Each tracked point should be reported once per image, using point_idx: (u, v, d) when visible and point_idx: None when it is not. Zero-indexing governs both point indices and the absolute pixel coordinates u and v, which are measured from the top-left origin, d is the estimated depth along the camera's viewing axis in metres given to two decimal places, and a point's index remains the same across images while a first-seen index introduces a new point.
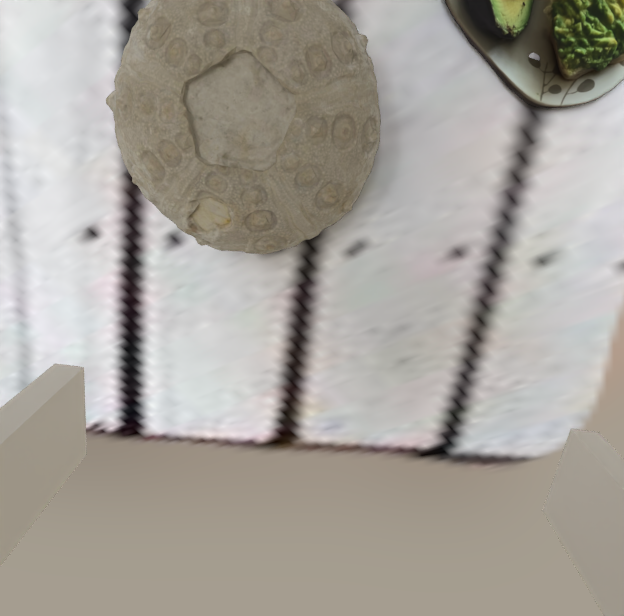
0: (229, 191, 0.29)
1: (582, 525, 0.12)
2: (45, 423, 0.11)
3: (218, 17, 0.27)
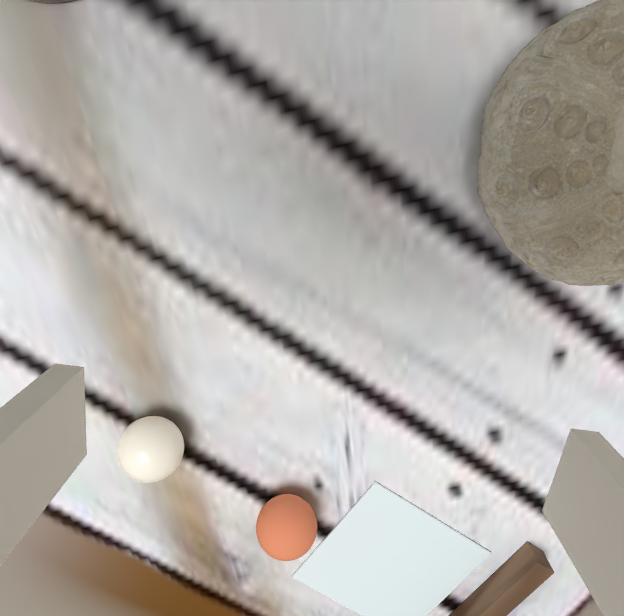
0: None
1: (582, 526, 0.12)
2: (45, 423, 0.11)
3: (577, 118, 0.27)
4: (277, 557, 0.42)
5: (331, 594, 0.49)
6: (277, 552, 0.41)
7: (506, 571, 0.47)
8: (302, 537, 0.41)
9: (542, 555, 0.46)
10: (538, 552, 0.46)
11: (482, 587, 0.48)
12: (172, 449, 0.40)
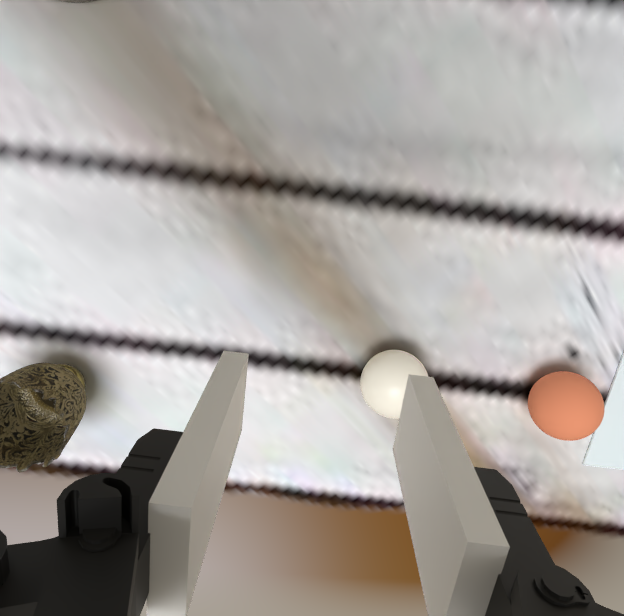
0: None
1: (406, 453, 0.14)
2: (236, 399, 0.13)
3: None
4: (576, 435, 0.37)
5: None
6: (575, 429, 0.37)
7: None
8: (594, 403, 0.37)
9: None
10: None
11: None
12: (419, 370, 0.37)
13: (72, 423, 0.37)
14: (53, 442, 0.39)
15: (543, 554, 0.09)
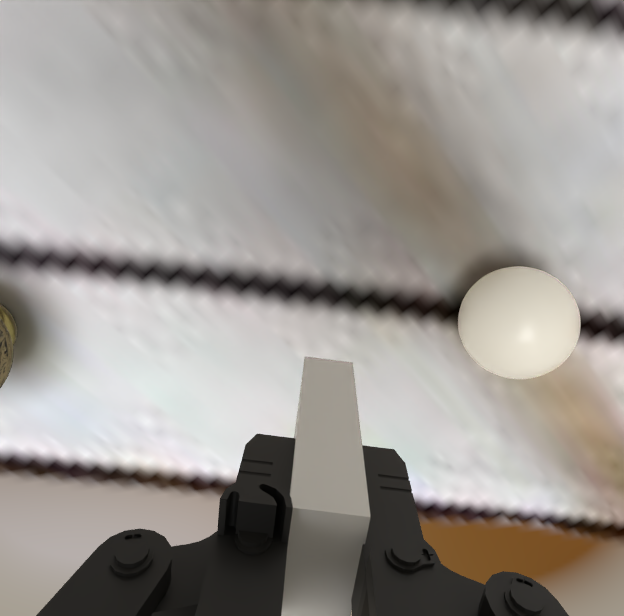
0: None
1: None
2: None
3: None
4: None
5: None
6: None
7: None
8: None
9: None
10: None
11: None
12: (569, 296, 0.22)
13: None
14: None
15: (414, 526, 0.10)
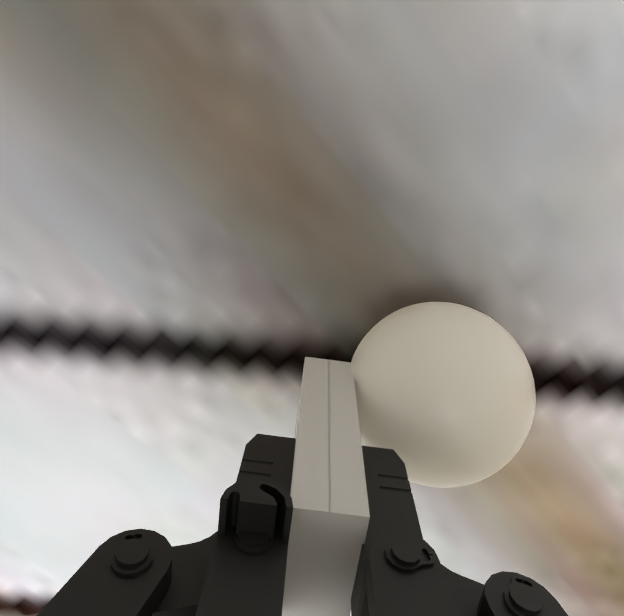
0: None
1: None
2: None
3: None
4: None
5: None
6: None
7: None
8: None
9: None
10: None
11: None
12: (512, 354, 0.13)
13: None
14: None
15: (414, 526, 0.10)
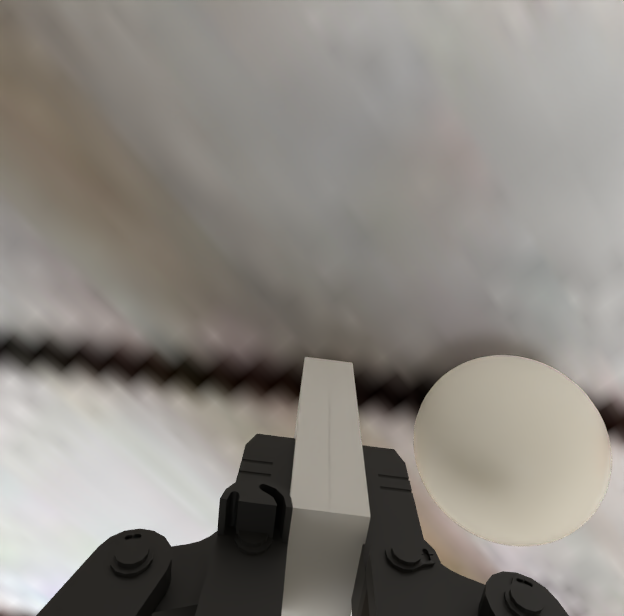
0: None
1: None
2: None
3: None
4: None
5: None
6: None
7: None
8: None
9: None
10: None
11: None
12: (475, 359, 0.16)
13: None
14: None
15: (414, 527, 0.10)
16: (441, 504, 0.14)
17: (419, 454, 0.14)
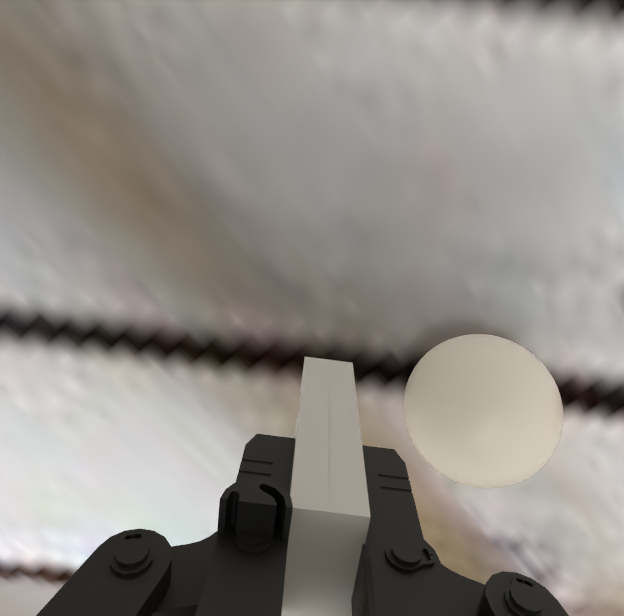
0: None
1: None
2: None
3: None
4: None
5: None
6: None
7: None
8: None
9: None
10: None
11: None
12: None
13: None
14: None
15: (414, 526, 0.10)
16: (425, 454, 0.17)
17: (407, 414, 0.17)
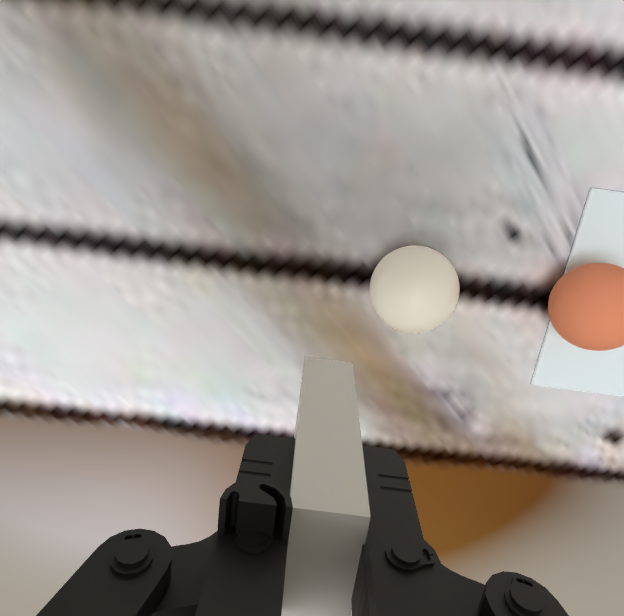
0: None
1: None
2: None
3: None
4: None
5: (595, 386, 0.35)
6: None
7: None
8: None
9: None
10: None
11: None
12: None
13: None
14: None
15: (414, 526, 0.10)
16: (380, 312, 0.29)
17: (371, 291, 0.30)
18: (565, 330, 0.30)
